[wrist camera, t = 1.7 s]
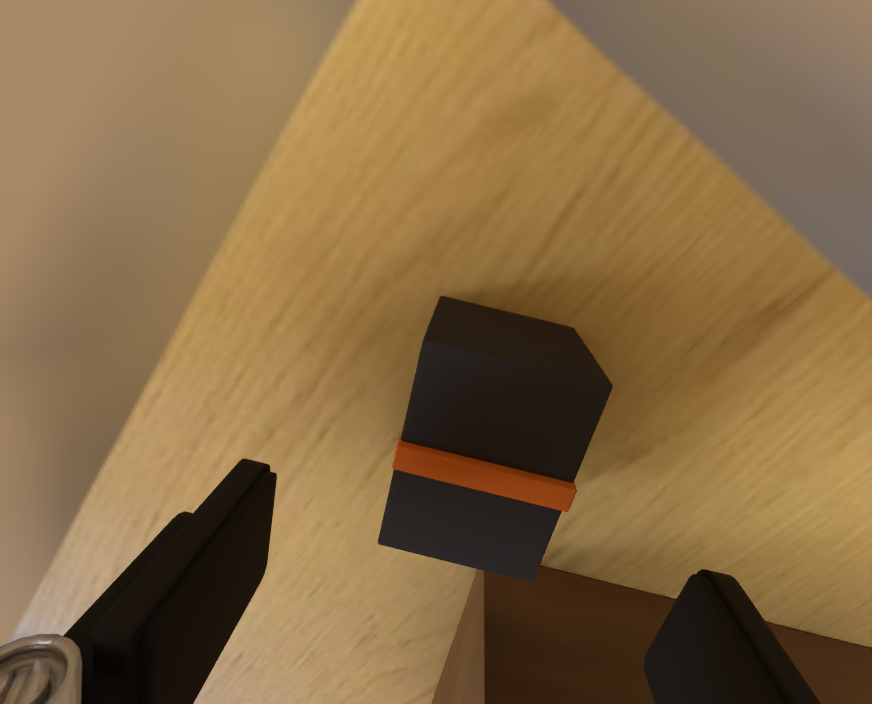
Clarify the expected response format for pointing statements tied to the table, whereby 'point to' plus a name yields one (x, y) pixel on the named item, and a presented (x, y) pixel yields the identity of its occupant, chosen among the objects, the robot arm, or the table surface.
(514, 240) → the table surface
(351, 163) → the table surface
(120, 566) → the table surface
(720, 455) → the table surface
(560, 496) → the black banded block
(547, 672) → the brown and grey box
